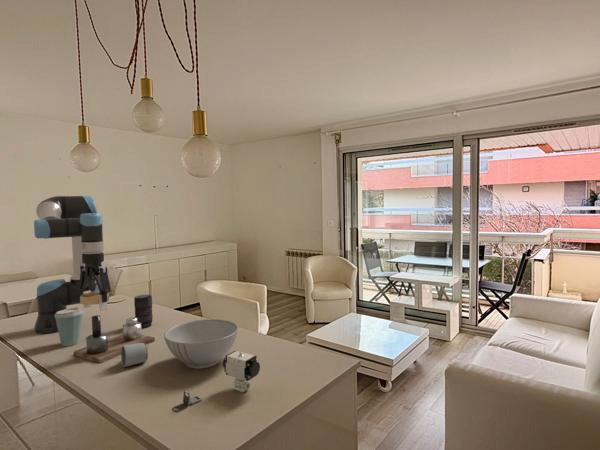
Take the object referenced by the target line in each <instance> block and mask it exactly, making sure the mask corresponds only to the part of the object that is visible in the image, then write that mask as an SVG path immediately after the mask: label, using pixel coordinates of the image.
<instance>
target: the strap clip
mask: <svg viewBox="0 0 600 450" xmlns="http://www.w3.org/2000/svg"><path fill="white" fill-rule="evenodd" d="M202 401H203V400H202V398H201V397H200V396H197V395H196V396H192V397H191V393H190V392H189V391H187V390H184V391H183V398H182V403H180V404H178V405H175V406H174V407H171V410H172V411H174V412H175V413H177V412H178V413H179V412H182V411H183V410H186V409H187V408H188V407H189V406H193V405H196V404H199V403H200V402H202ZM176 409H177V410H176Z"/></svg>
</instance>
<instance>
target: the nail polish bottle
mask: <svg viewBox="0 0 600 450" xmlns="http://www.w3.org/2000/svg"><path fill="white" fill-rule="evenodd" d="M101 325H102V324H101V315H98V314H97V315H92V316H91V331H92V333H91V335H90V334H89V335H87V336H86V337H85V338H86V339H85V341H86V342H85V343H86V344H85V345H86V347H87V354H89V355H96V354H101V353H104V352H106V351H107V350H108V339H109V338H108V334H107V333H106V332H102V326H101Z"/></svg>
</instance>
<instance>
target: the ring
mask: <svg viewBox="0 0 600 450" xmlns="http://www.w3.org/2000/svg"><path fill="white" fill-rule="evenodd" d="M99 293H100V291H96V292H89V293H85V294H82V295H81V296H80V305H83V306H84V305H92V306H93V305H99ZM109 300H110V292H109V293H107V302H108V301H109Z"/></svg>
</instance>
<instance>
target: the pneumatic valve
mask: <svg viewBox="0 0 600 450" xmlns="http://www.w3.org/2000/svg"><path fill="white" fill-rule="evenodd" d="M257 357H258V356H257V355H254V354H250V353H246V352H242V351H238V350H234V351H232V352H230V353H227V354H226V355H225V356H224V357H223V360H222V367H223V369H224V371H223V372H224V373H225V375H226V376H230V377H233V378H235V379H233V382H232V383H233V390H234V391H237V392H240V393H245V391H248V390H249V389H250V388H251V382H250V381H251V380H252V379H254V378H256V377H257V376H258V375H259V373H260V370H261V365H260V363H259V361H258V359H257Z"/></svg>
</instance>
